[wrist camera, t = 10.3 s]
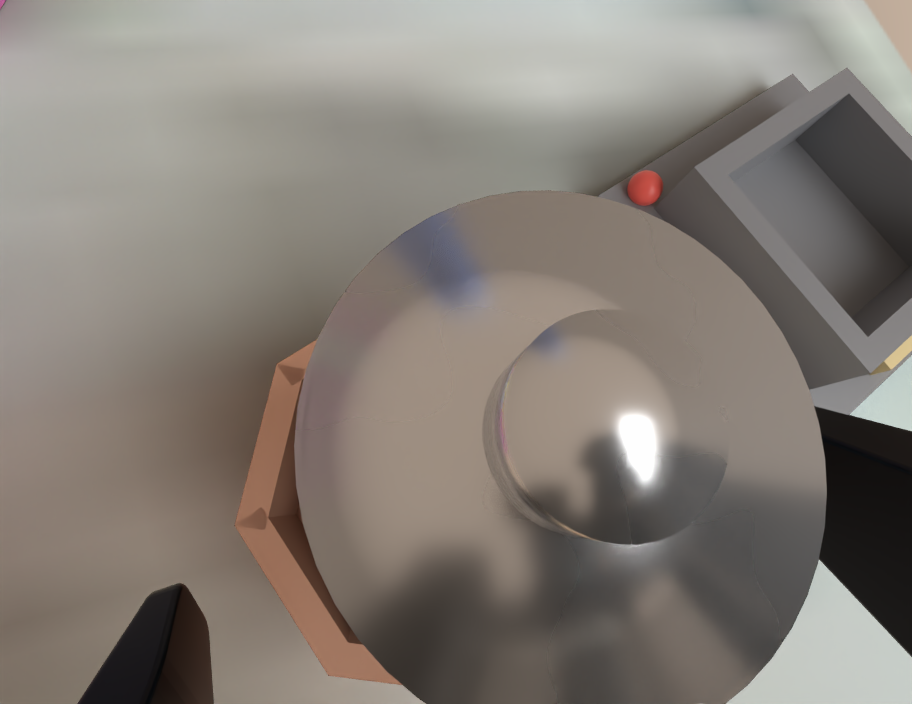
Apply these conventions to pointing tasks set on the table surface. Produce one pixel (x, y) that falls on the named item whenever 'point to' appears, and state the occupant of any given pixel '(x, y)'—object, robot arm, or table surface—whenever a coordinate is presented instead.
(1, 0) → the gum box
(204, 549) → the table surface
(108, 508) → the table surface
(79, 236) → the table surface
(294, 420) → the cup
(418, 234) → the battery
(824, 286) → the tray
